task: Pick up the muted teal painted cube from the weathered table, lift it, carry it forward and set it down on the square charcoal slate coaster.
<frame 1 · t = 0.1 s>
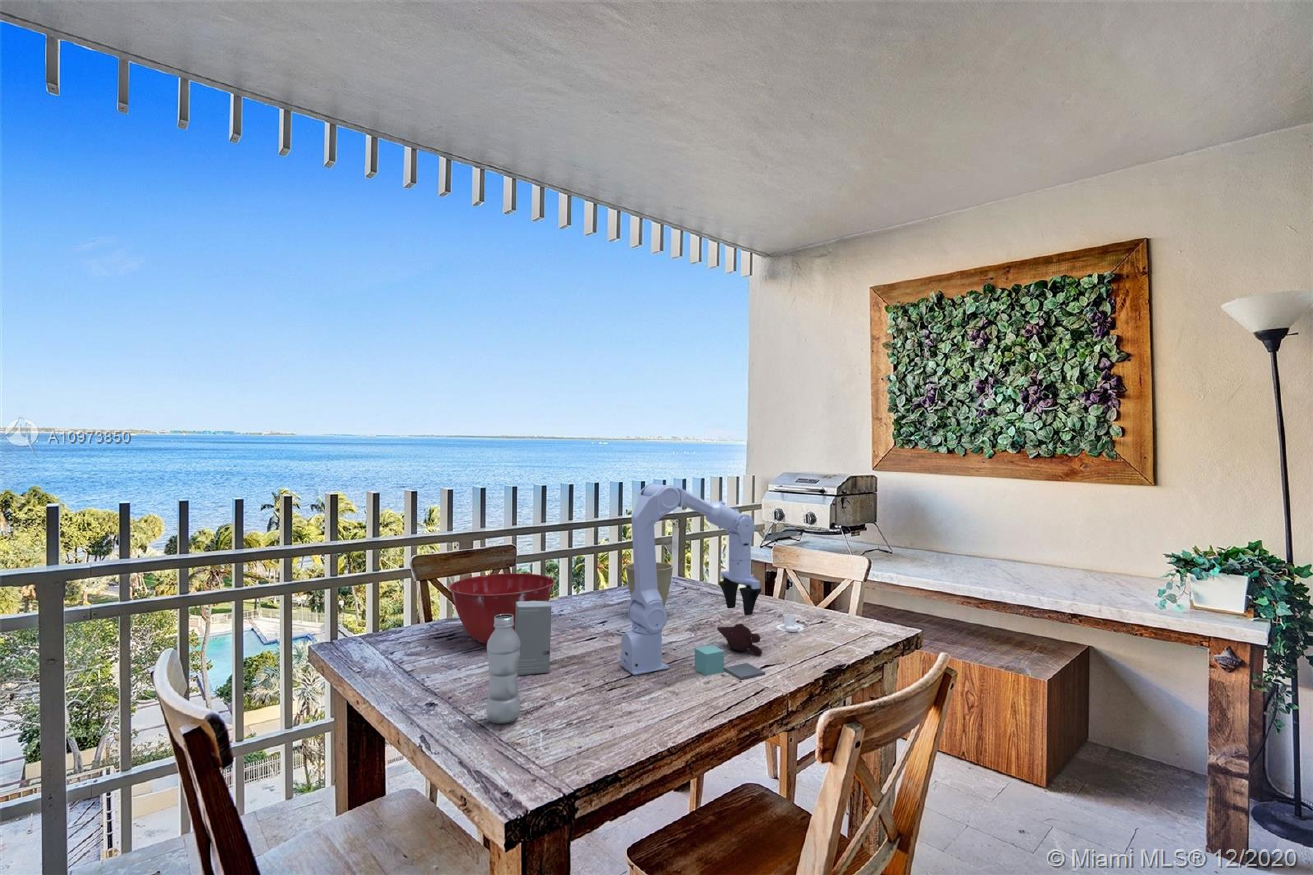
hand: (739, 611, 160), 10 cm above the table, tool pointing down, fingers open, 7 cm apart
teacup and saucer: (781, 631, 178), on the table
skincare box: (532, 670, 145), on the table
plant pot: (649, 617, 191), on the table
teal cube: (709, 670, 145), on the table
plastic bottle: (503, 721, 117), on the table
slate coaster: (744, 672, 143), on the table
mixing bowl: (502, 638, 169), on the table
dark brown lumpy figure: (738, 650, 160), on the table
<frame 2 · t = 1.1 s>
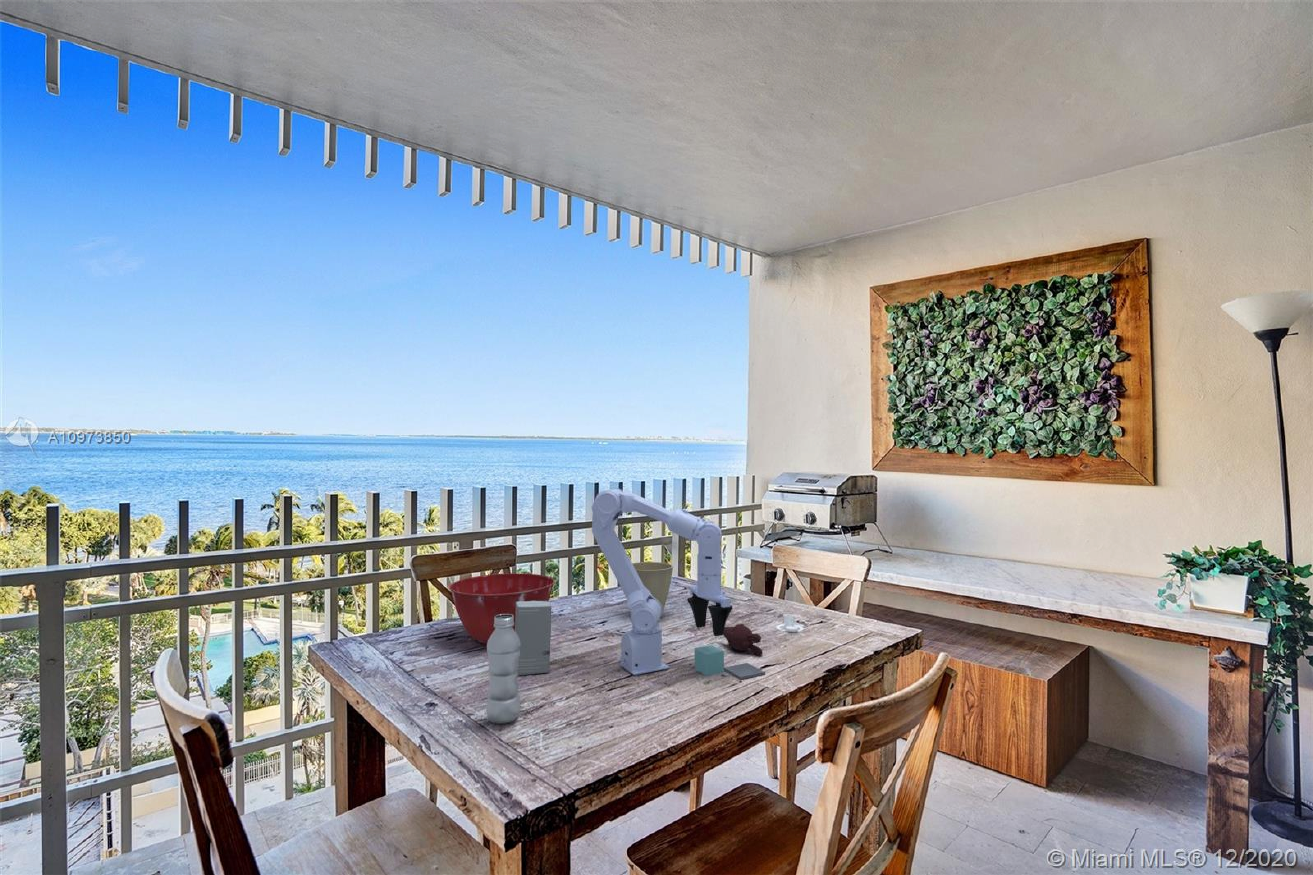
hand: (709, 631, 145), 9 cm above the table, tool pointing down, fingers open, 7 cm apart
nothing on the table moved.
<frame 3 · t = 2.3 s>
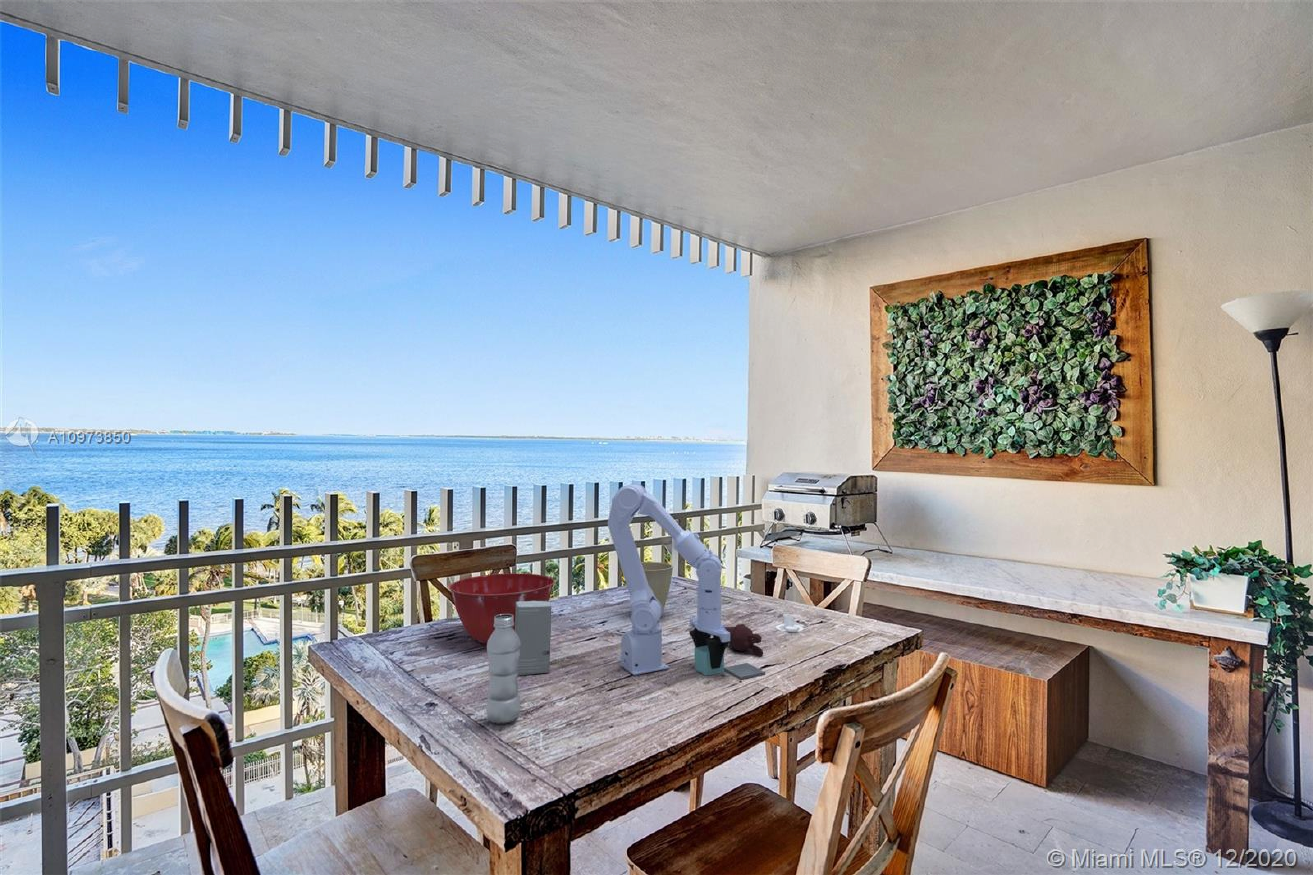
hand: (709, 664, 145), 1 cm above the table, tool pointing down, fingers closed on teal cube, 5 cm apart
teal cube: (709, 670, 145), on the table, touching gripper
everything else where it was.
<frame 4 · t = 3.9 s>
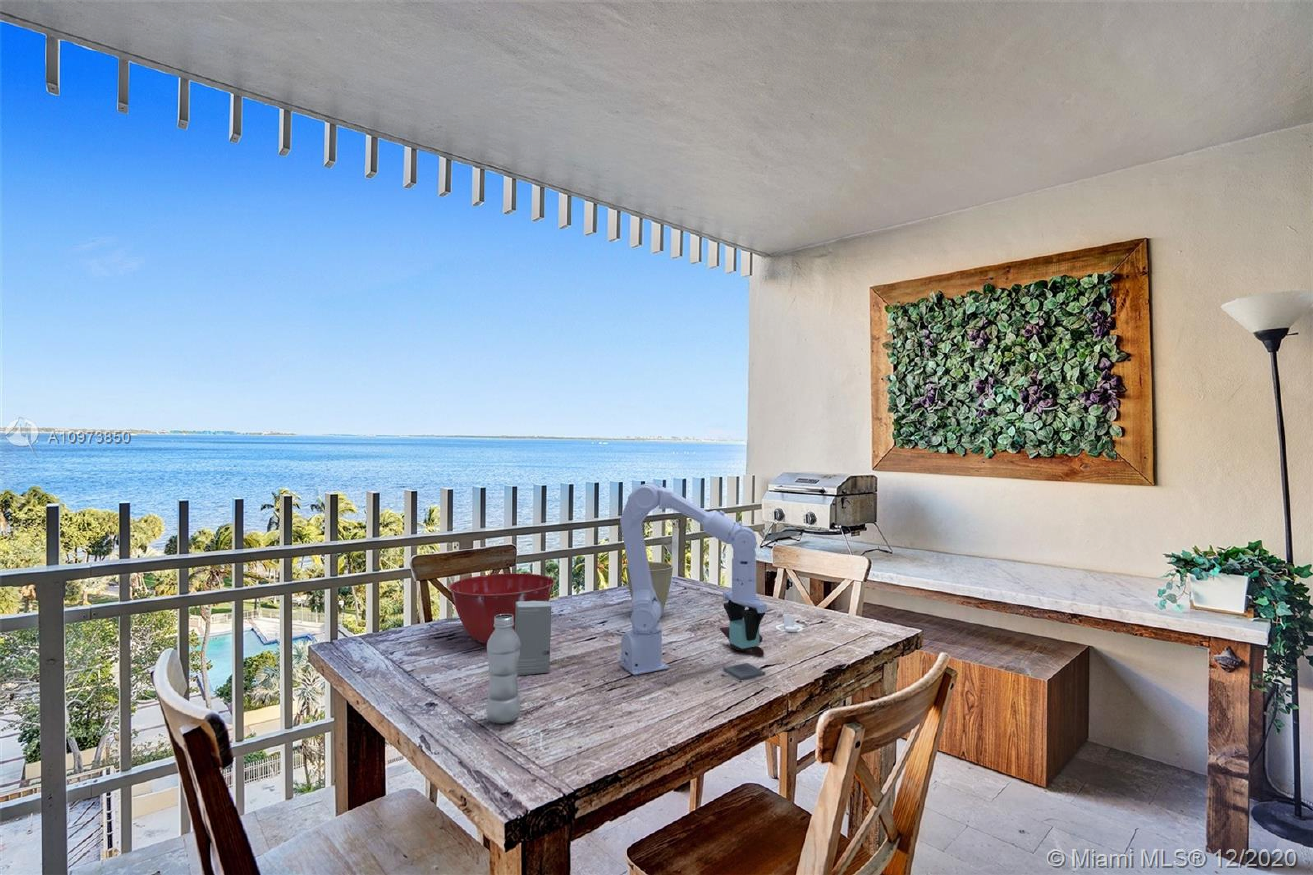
hand: (744, 636, 143), 8 cm above the table, tool pointing down, fingers closed on teal cube, 5 cm apart
teal cube: (744, 644, 143), point 7 cm above the table, touching gripper
everything else where it was.
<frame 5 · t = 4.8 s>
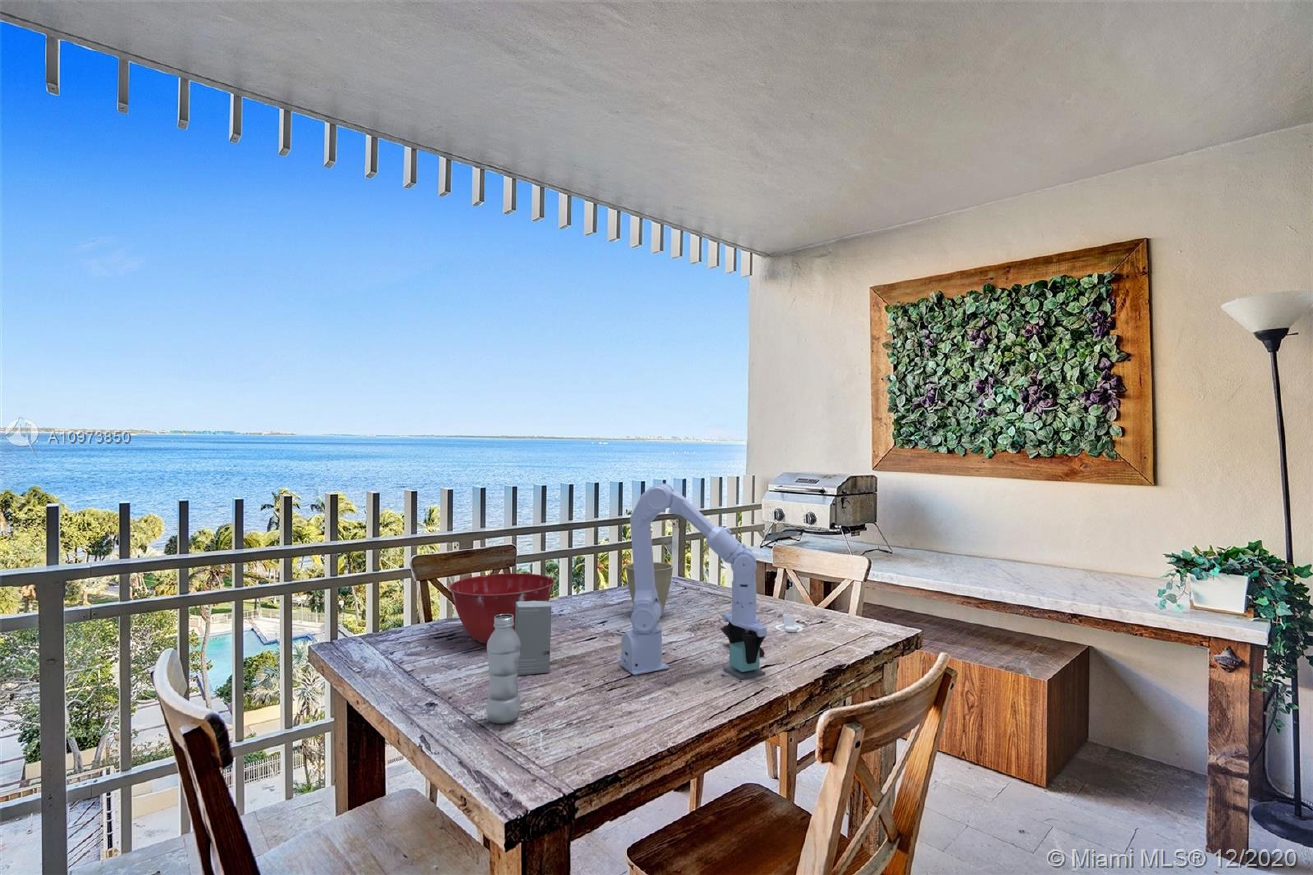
hand: (744, 659, 143), 3 cm above the table, tool pointing down, fingers closed on teal cube, 5 cm apart
teal cube: (744, 666, 143), point 1 cm above the table, touching gripper
everything else where it was.
when the fingers open (2 cm above the table, at t = 5.4 s): teal cube stays where it is, resting on slate coaster.
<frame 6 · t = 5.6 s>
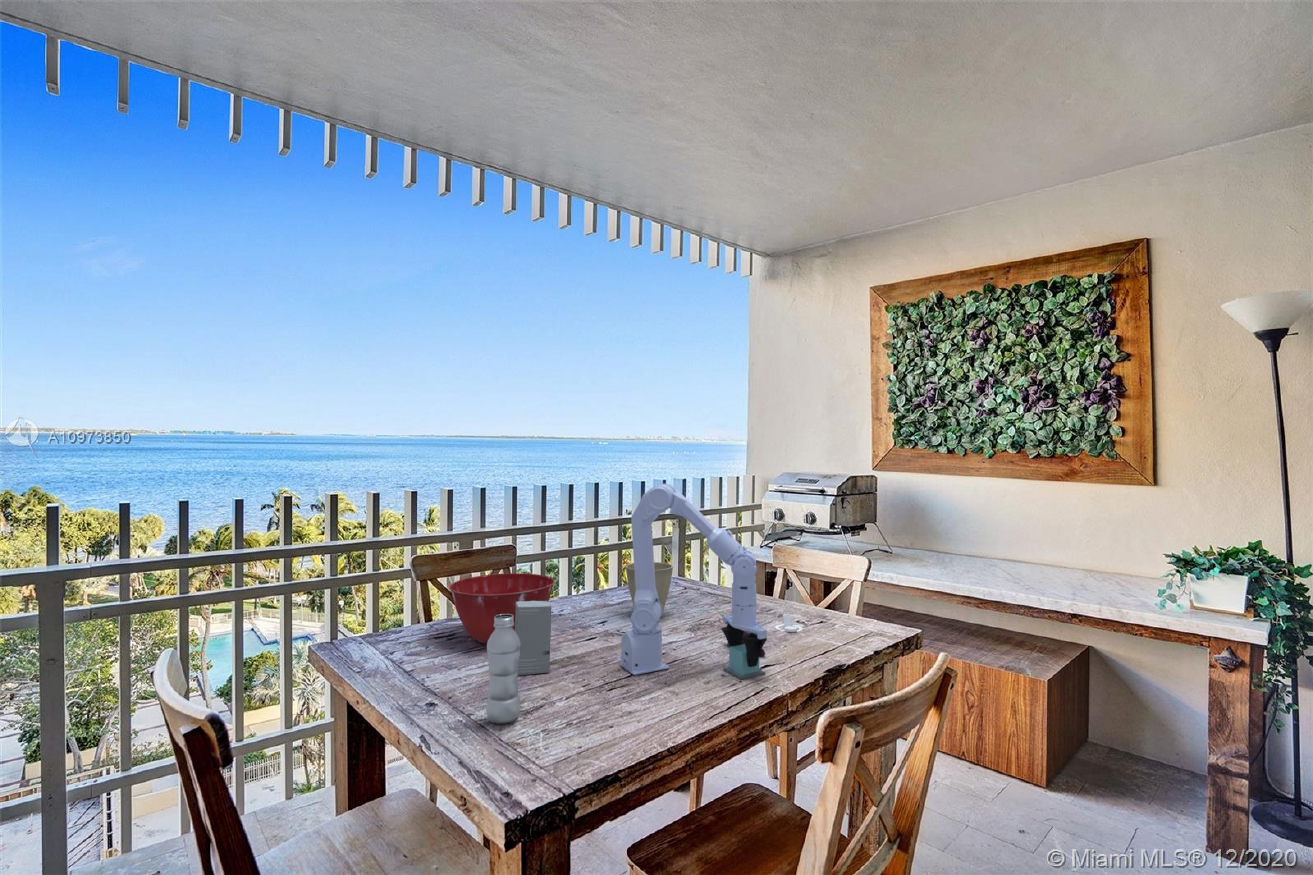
hand: (744, 661, 143), 3 cm above the table, tool pointing down, fingers open, 6 cm apart
teal cube: (744, 669, 143), point 1 cm above the table, touching slate coaster
everything else where it was.
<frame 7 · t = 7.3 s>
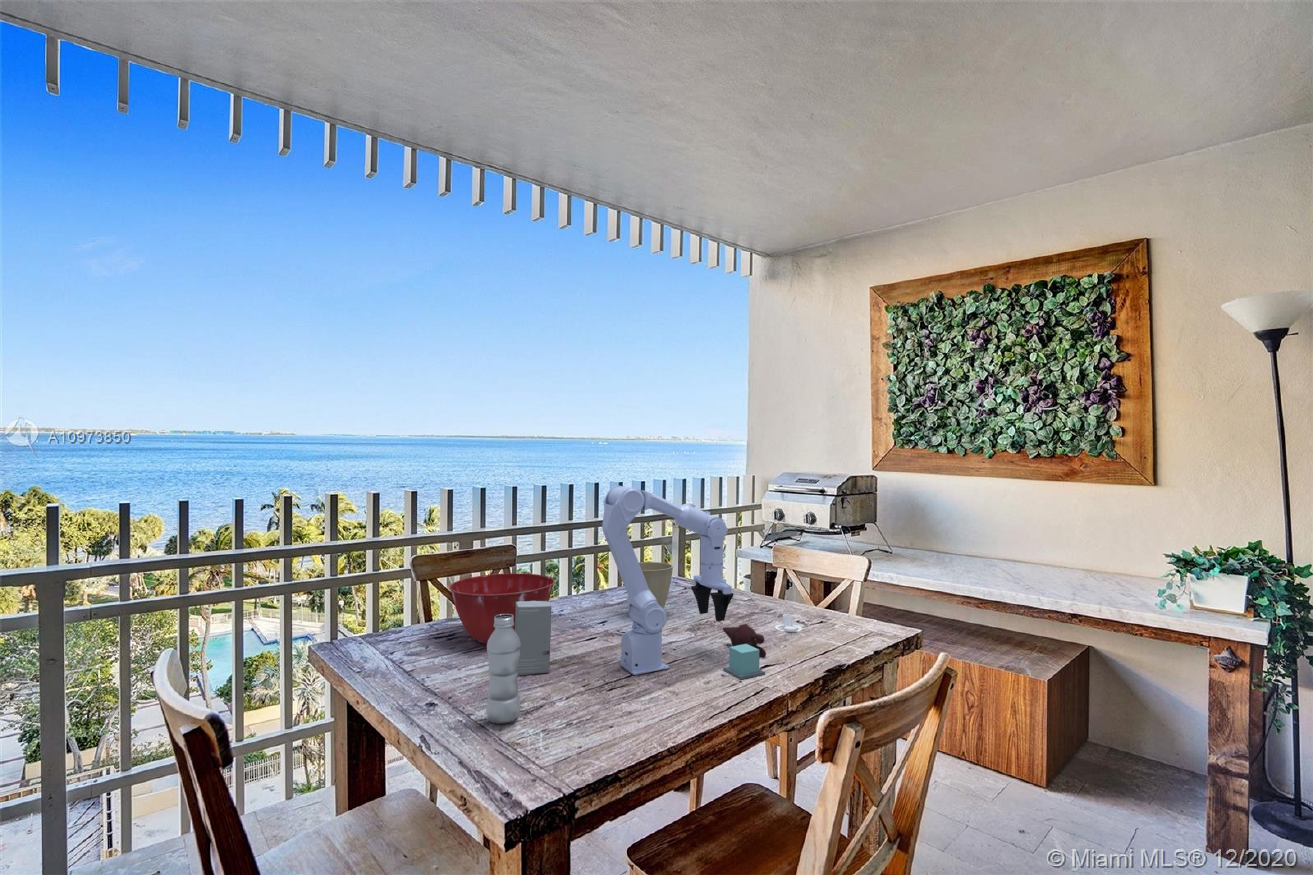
hand: (711, 617, 155), 10 cm above the table, tool pointing down, fingers open, 7 cm apart
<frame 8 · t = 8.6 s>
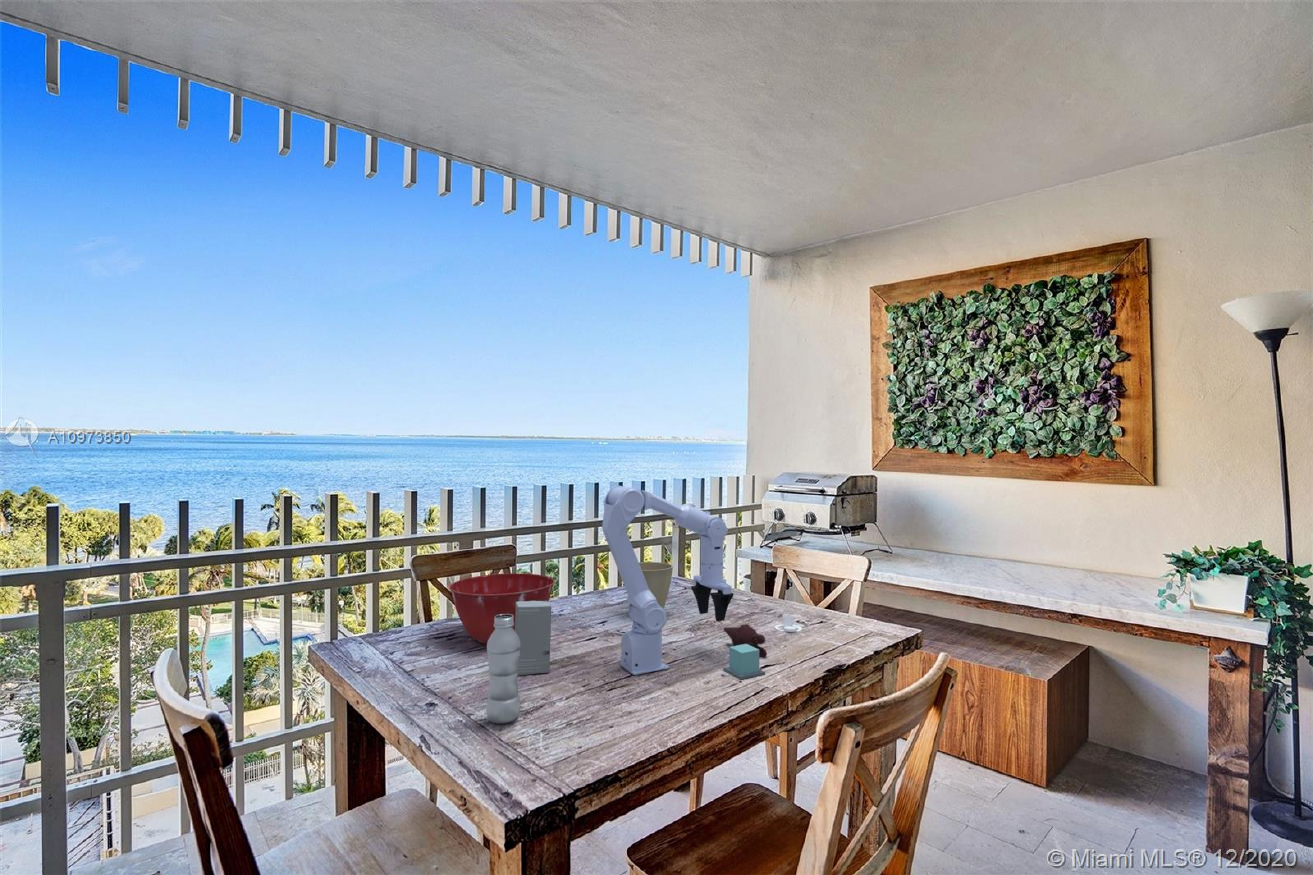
hand: (711, 616, 155), 10 cm above the table, tool pointing down, fingers open, 7 cm apart
at the end: teal cube inside the target area on the slate coaster (0.1 cm from its centre), point 0.6 cm above the slate coaster's base; teal cube tilted 0°; the gripper is holding nothing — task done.
